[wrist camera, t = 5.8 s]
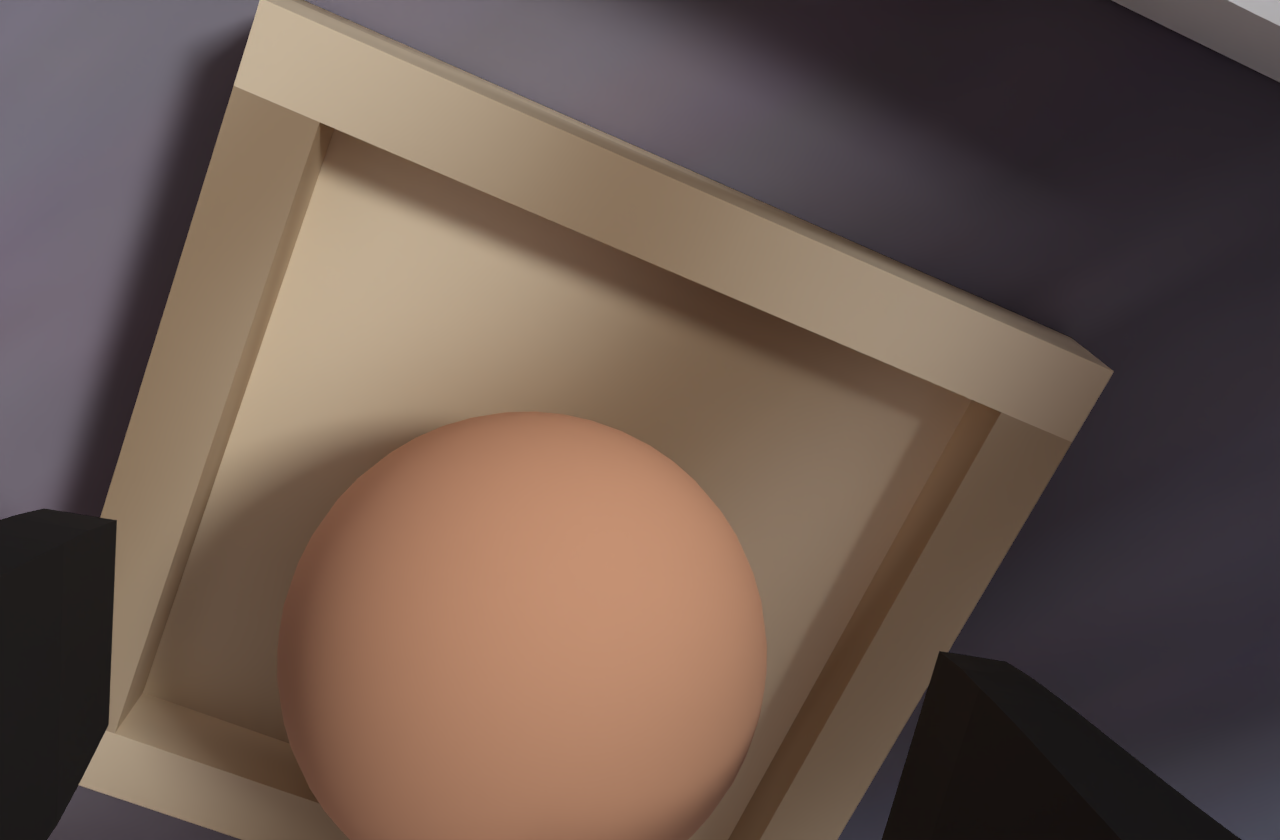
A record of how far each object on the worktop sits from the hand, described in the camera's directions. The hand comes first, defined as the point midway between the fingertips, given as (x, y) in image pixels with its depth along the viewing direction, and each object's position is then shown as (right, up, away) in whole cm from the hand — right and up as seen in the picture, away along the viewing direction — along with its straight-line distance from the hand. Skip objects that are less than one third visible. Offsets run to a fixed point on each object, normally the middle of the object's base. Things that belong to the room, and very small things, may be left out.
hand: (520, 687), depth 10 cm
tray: (0, +1, +3) cm, 3 cm away
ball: (0, +1, +3) cm, 3 cm away
